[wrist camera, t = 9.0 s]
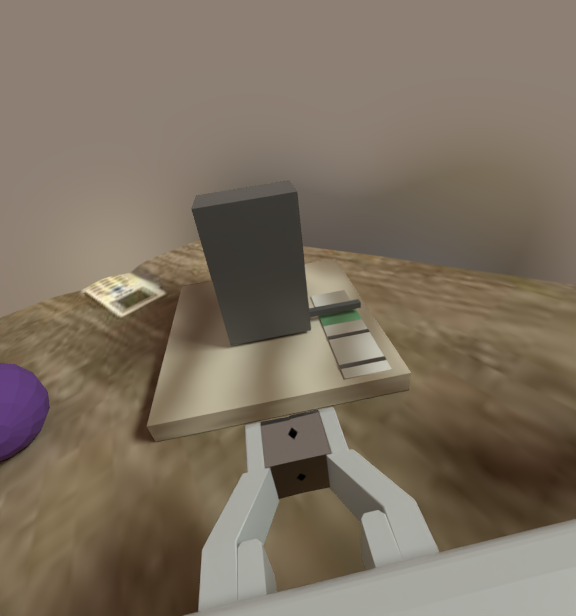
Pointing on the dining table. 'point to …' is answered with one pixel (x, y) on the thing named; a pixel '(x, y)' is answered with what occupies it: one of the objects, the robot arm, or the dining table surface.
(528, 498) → the dining table surface
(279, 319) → the peg
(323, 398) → the board
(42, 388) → the purple maraca
